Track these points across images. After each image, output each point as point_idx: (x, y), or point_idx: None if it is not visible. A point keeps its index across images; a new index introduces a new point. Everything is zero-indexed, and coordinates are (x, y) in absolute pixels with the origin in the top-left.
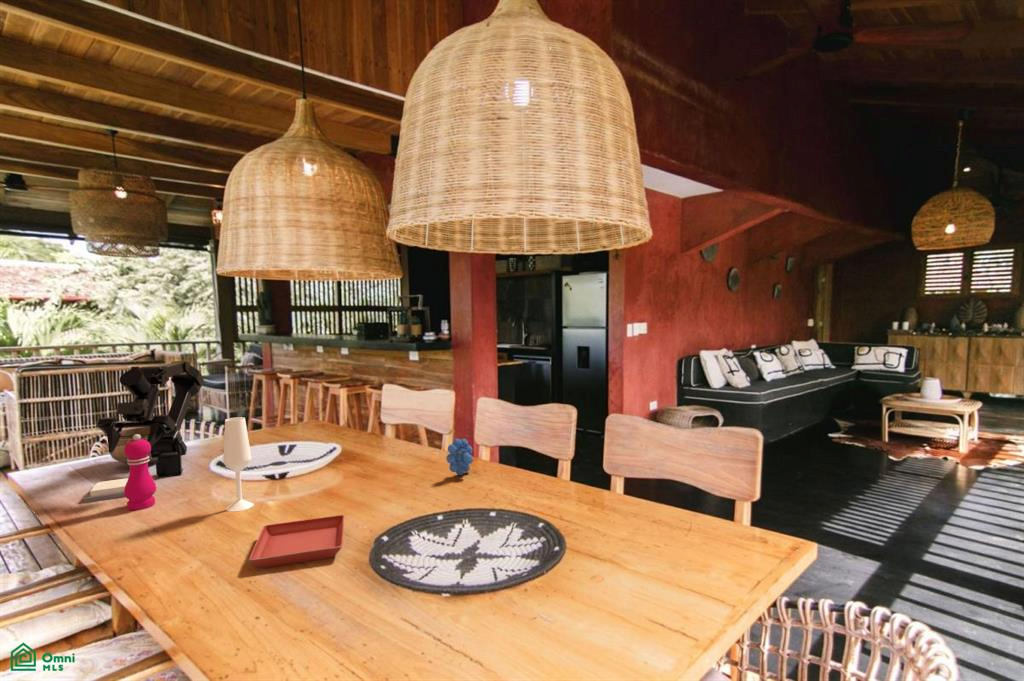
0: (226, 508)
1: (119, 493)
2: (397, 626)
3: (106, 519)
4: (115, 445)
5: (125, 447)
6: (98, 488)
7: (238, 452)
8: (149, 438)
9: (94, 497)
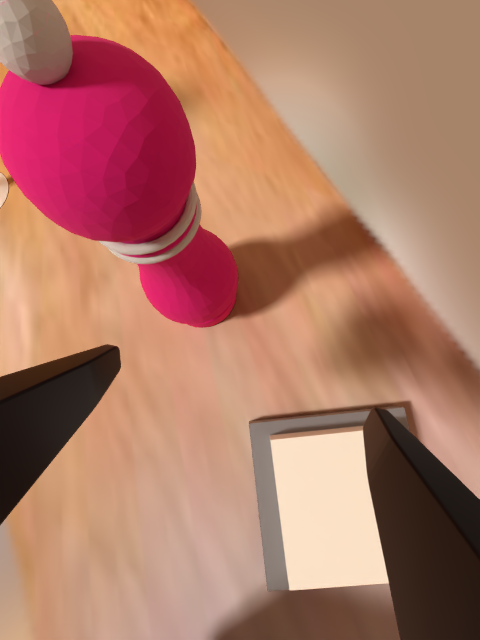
0: (6, 192)
1: (295, 419)
2: None
3: (263, 222)
4: (382, 523)
5: (164, 80)
6: None
7: None
8: (8, 386)
9: (369, 410)
